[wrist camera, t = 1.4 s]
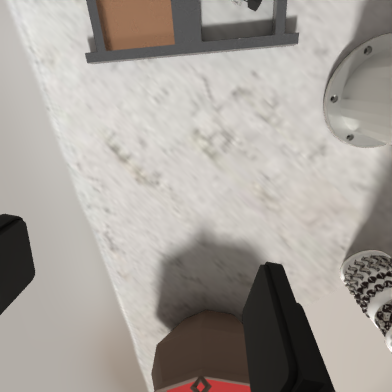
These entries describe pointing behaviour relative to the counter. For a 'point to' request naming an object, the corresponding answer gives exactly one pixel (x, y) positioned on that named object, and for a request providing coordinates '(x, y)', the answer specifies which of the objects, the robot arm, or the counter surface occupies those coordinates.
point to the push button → (249, 3)
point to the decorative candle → (371, 287)
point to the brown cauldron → (203, 356)
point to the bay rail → (167, 30)
